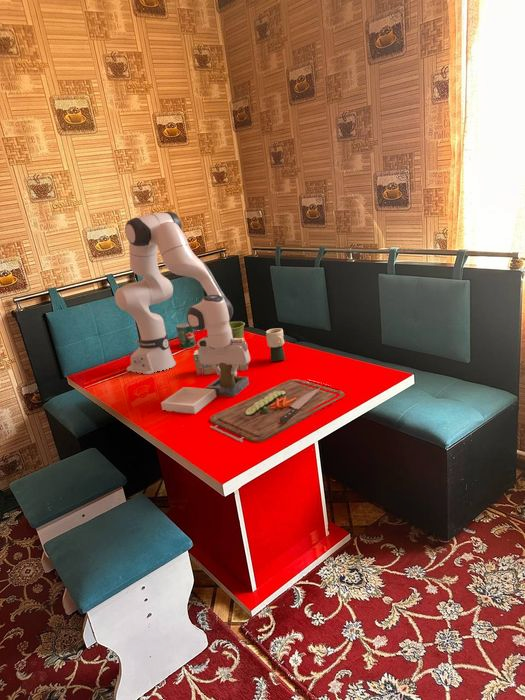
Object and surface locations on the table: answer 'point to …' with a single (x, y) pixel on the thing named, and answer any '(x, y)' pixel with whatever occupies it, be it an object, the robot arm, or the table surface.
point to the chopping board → (273, 410)
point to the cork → (226, 375)
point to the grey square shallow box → (229, 391)
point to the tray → (188, 400)
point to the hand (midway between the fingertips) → (227, 375)
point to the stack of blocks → (209, 368)
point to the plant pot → (237, 329)
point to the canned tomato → (185, 335)
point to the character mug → (275, 344)
